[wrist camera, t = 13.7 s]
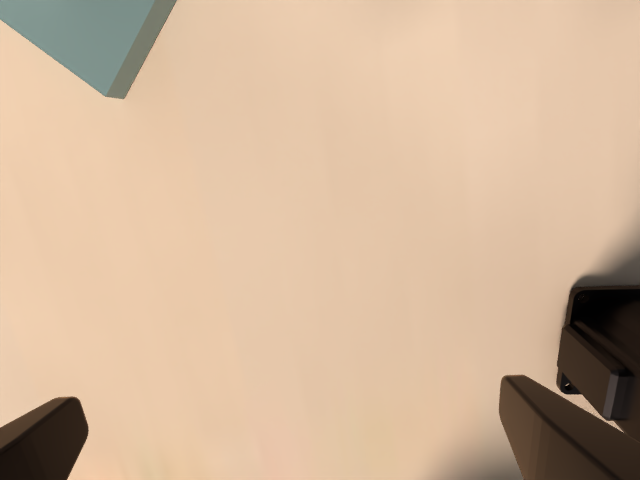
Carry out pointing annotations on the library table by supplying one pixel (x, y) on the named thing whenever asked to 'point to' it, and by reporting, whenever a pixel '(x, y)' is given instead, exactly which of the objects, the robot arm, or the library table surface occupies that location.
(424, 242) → the library table surface
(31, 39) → the lipped steel plate
